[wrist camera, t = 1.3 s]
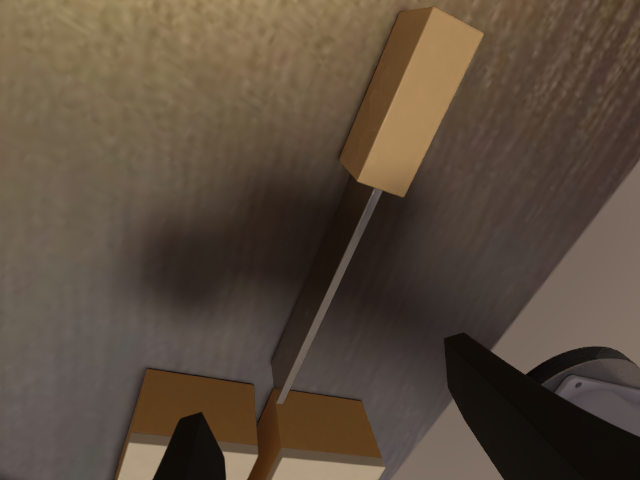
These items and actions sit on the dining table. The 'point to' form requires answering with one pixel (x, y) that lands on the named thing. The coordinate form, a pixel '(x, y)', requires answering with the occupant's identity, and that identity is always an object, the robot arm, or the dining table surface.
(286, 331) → the knife
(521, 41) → the dining table surface
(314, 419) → the sponge cake
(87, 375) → the dining table surface
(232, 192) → the dining table surface
